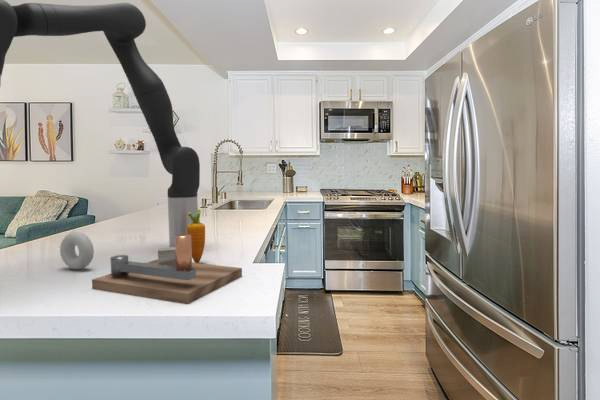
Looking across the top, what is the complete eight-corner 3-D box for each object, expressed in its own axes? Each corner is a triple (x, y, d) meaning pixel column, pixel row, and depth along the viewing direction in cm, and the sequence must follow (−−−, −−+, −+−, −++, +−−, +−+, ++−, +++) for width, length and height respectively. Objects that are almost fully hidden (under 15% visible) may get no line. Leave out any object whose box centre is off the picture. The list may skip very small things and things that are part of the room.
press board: (158, 266, 100) (157, 240, 99) (242, 276, 90) (241, 247, 89) (92, 288, 81) (90, 257, 81) (187, 303, 71) (186, 268, 71)
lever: (121, 271, 86) (118, 229, 85) (197, 281, 77) (196, 234, 77) (107, 275, 82) (105, 231, 82) (186, 286, 74) (184, 237, 73)
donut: (97, 269, 97) (96, 231, 97) (86, 272, 94) (84, 233, 93) (69, 266, 101) (67, 229, 100) (58, 269, 97) (55, 232, 97)
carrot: (189, 266, 99) (187, 211, 98) (186, 262, 103) (184, 209, 102) (208, 264, 101) (206, 210, 100) (204, 260, 106) (202, 208, 104)
